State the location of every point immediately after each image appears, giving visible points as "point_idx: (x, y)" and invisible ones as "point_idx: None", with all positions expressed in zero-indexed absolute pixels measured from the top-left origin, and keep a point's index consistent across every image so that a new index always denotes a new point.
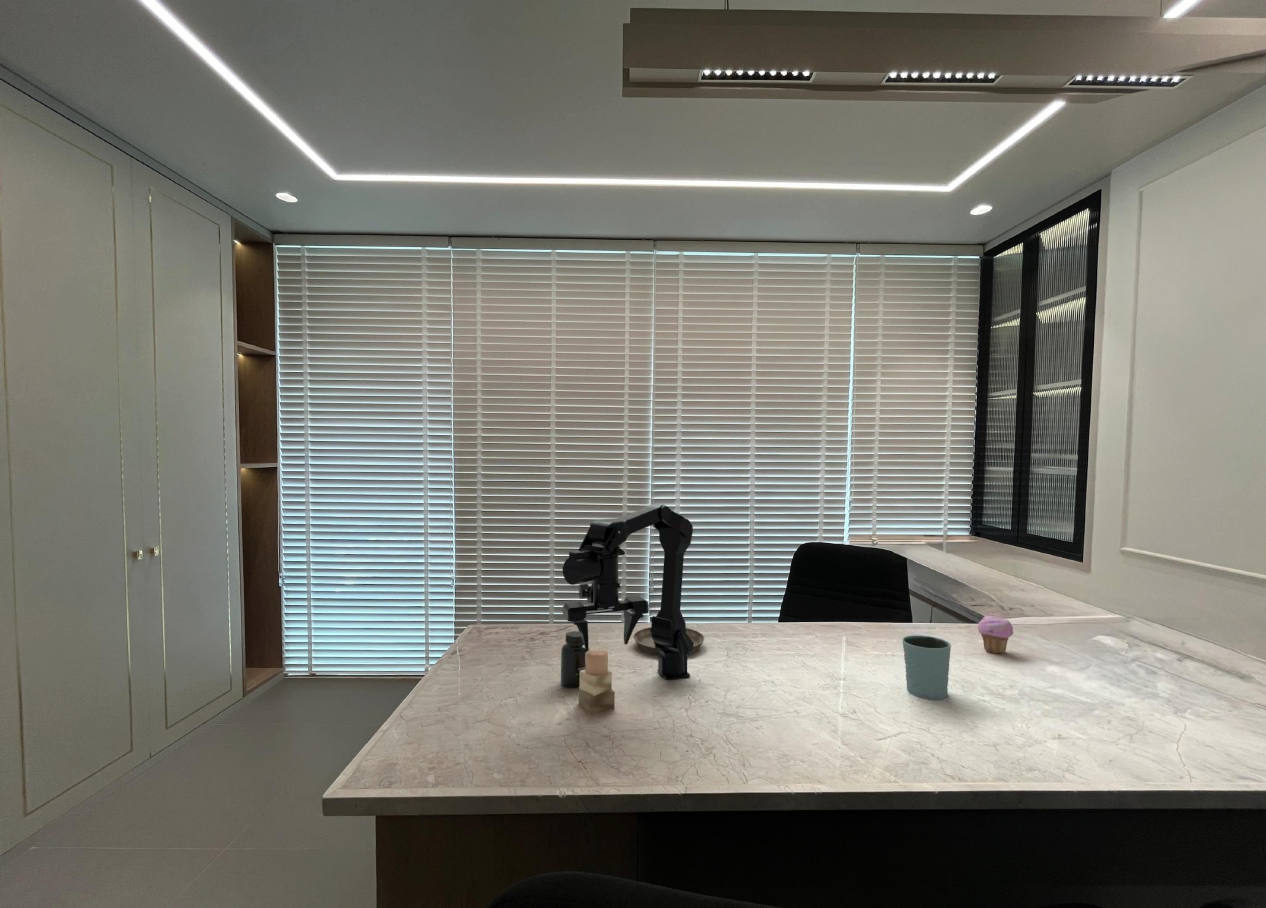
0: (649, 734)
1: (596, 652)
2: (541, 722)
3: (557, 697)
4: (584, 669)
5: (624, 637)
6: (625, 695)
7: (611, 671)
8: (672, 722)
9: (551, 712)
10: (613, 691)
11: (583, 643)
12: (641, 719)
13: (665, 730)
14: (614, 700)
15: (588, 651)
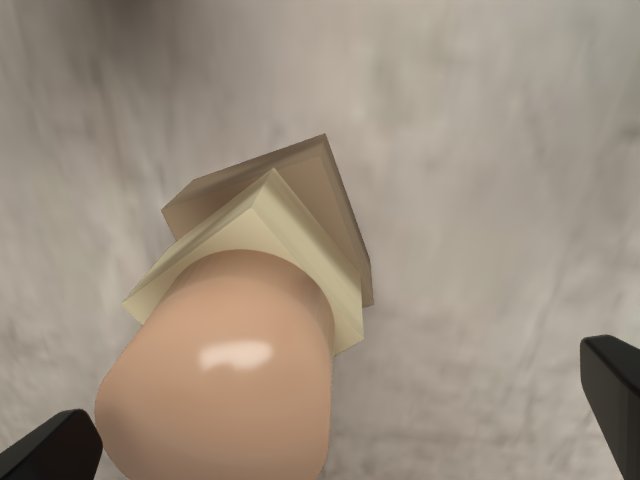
0: (465, 470)
1: (209, 414)
2: (58, 338)
3: (66, 79)
4: (154, 278)
5: (625, 415)
6: (460, 99)
7: (361, 339)
8: (588, 408)
9: (77, 257)
10: (367, 301)
11: (9, 455)
12: (469, 369)
13: (533, 455)
14: (371, 280)
15: (121, 380)
